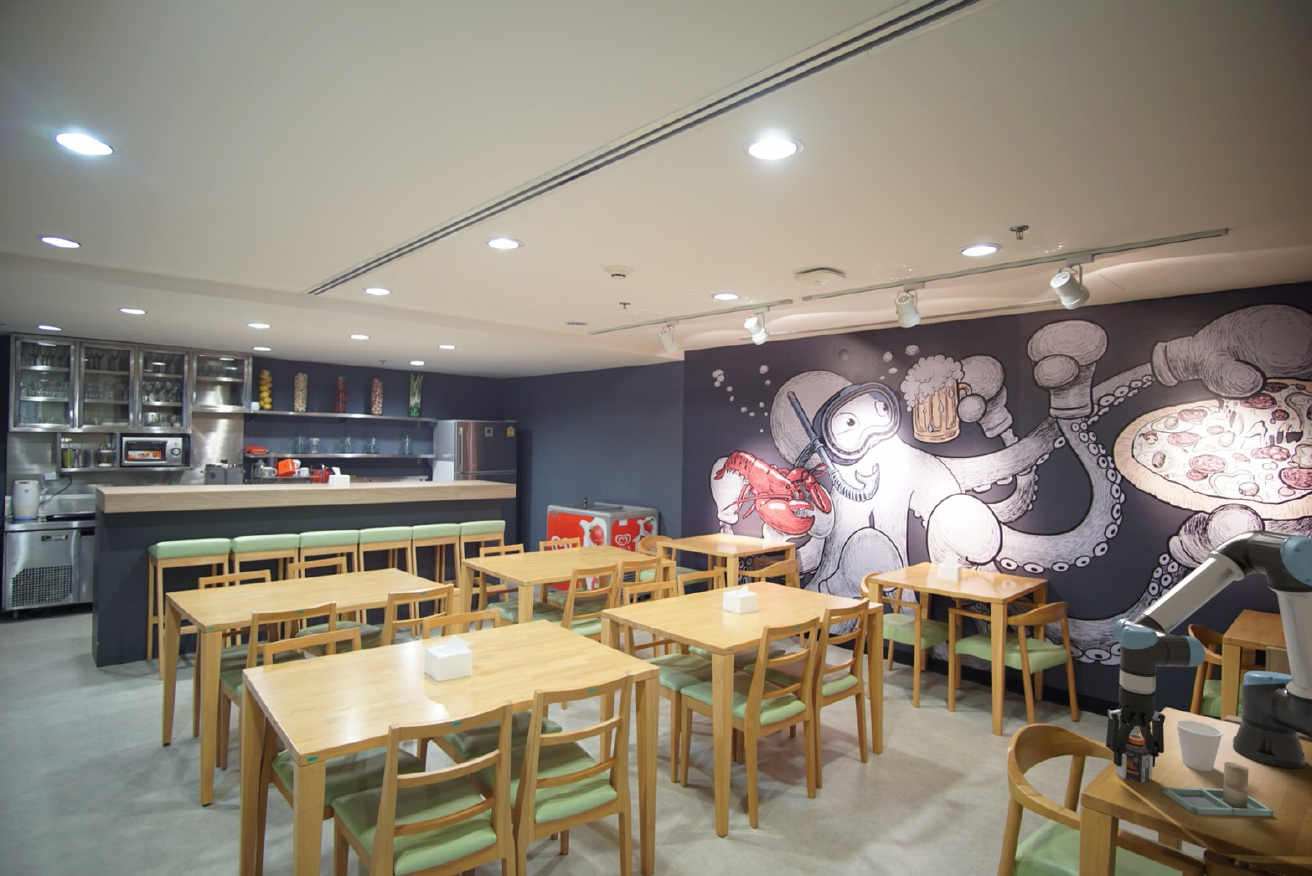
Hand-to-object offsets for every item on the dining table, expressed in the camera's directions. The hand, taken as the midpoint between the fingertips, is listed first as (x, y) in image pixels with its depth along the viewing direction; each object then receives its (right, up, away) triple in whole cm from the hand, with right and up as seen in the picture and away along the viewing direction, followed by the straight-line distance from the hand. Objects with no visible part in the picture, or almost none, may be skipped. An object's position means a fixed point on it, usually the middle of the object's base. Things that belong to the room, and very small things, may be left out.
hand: (1133, 778), depth 176 cm
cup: (+22, -1, +7) cm, 23 cm away
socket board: (+11, -1, -12) cm, 17 cm away
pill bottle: (0, -1, 0) cm, 1 cm away
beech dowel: (+15, 0, -12) cm, 20 cm away
